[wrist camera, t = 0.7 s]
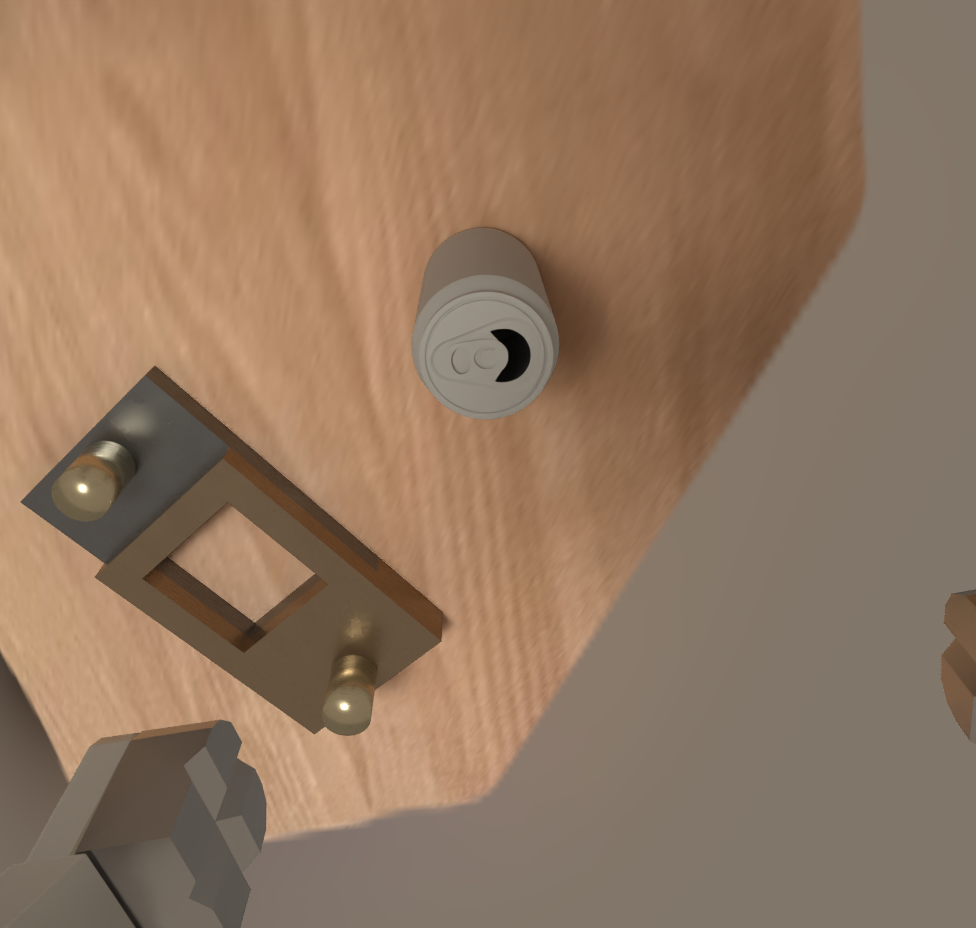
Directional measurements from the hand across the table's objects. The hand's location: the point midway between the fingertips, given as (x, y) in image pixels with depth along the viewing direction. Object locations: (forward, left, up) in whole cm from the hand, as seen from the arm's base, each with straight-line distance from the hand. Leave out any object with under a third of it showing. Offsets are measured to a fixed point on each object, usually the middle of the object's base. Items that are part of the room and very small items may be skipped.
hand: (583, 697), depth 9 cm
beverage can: (+3, -4, -37) cm, 37 cm away
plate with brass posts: (+6, -27, -37) cm, 46 cm away
